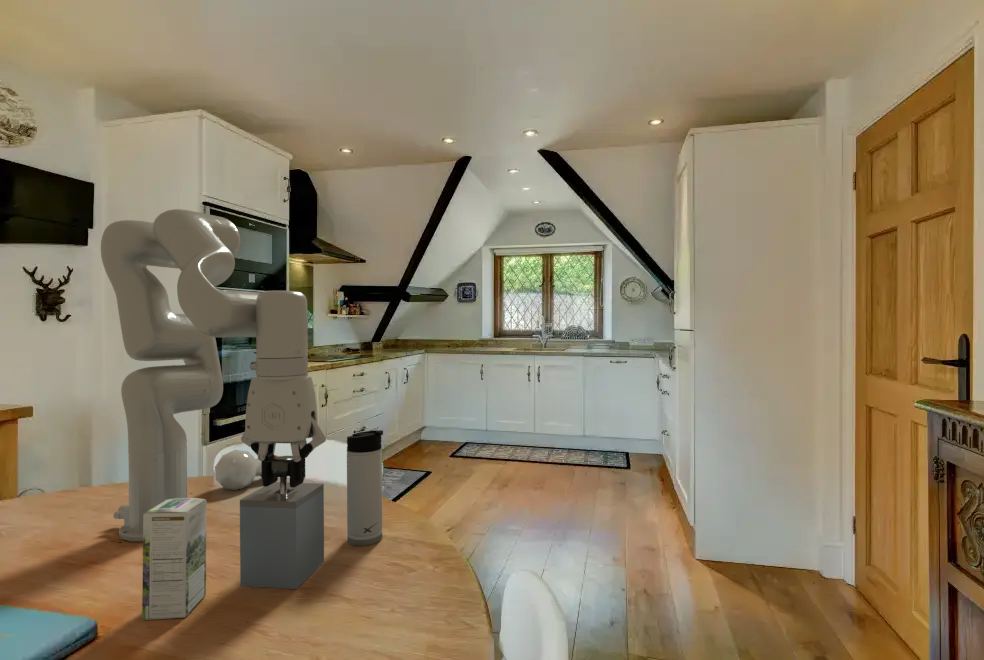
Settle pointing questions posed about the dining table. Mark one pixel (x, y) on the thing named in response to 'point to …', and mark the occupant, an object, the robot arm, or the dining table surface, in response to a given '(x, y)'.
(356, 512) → the travel mug
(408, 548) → the dining table surface
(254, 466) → the potion bottle
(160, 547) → the syrup box
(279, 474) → the plunger
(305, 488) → the grey box with hole
